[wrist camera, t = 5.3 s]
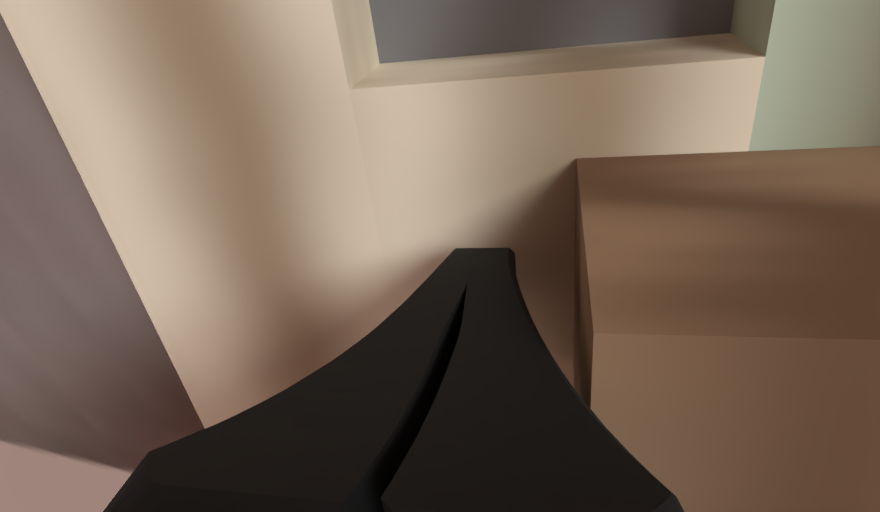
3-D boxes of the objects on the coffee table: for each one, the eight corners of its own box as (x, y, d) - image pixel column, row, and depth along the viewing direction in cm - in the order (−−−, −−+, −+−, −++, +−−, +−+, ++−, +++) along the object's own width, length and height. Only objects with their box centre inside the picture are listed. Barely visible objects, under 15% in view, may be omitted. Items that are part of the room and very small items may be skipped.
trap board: (274, 446, 20) (211, 564, 17) (13, -198, 11) (-276, -259, 7) (828, 486, 17) (908, 653, 13) (1197, -471, 7) (1972, -937, 3)
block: (572, 362, 13) (582, 585, 8) (576, 158, 10) (593, 333, 6) (815, 371, 12) (965, 630, 7) (889, 145, 9) (1184, 347, 5)
